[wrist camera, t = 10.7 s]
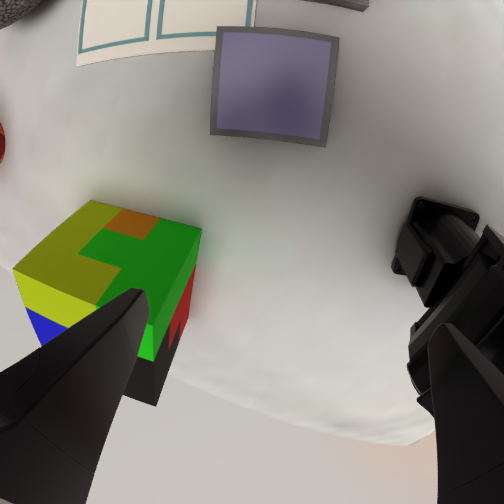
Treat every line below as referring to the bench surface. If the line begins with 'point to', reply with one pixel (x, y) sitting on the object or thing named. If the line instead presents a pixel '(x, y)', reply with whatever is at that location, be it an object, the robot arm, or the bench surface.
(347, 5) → the stamp
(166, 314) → the puzzle toy
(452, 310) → the robot arm
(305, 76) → the ink pad
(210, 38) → the print card
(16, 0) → the decorative ball
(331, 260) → the bench surface
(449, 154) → the bench surface
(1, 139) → the paper cup
